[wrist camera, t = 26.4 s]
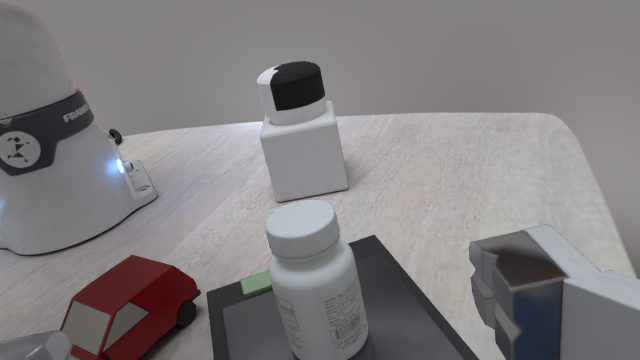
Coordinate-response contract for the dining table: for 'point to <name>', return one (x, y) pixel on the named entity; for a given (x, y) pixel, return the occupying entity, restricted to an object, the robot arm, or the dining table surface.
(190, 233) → the dining table surface
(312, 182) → the container
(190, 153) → the dining table surface
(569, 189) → the dining table surface
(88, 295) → the toy truck
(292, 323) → the pill bottle
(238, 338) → the scale
